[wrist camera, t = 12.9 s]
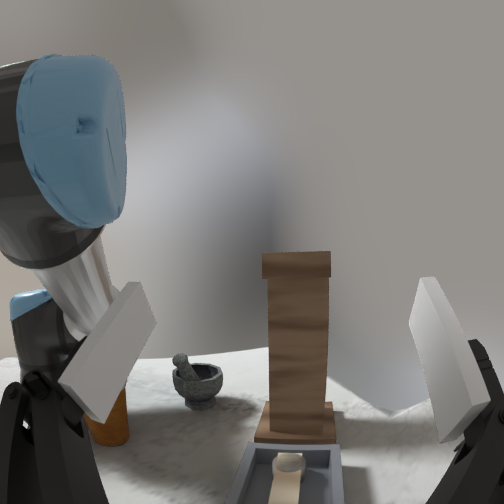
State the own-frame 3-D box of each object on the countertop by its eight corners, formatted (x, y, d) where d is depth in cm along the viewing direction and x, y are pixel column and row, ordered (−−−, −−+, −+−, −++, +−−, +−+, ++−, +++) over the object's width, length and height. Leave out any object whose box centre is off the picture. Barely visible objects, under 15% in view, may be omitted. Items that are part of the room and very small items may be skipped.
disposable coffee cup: (149, 431, 39) (137, 369, 39) (115, 459, 30) (96, 391, 30) (108, 417, 42) (95, 358, 42) (73, 438, 33) (55, 374, 33)
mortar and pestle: (193, 388, 58) (188, 337, 58) (232, 396, 55) (229, 342, 55) (162, 409, 48) (154, 352, 48) (204, 422, 44) (198, 361, 44)
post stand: (335, 456, 33) (347, 250, 33) (251, 454, 35) (244, 253, 35) (330, 405, 48) (335, 250, 48) (267, 405, 51) (264, 252, 51)
